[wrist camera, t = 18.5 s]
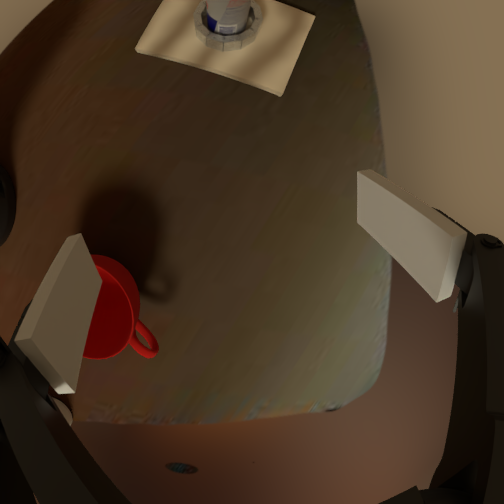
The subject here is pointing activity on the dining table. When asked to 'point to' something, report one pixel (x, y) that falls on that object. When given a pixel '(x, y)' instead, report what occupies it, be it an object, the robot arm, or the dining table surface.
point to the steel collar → (227, 41)
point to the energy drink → (227, 16)
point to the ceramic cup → (116, 314)
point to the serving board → (237, 61)
